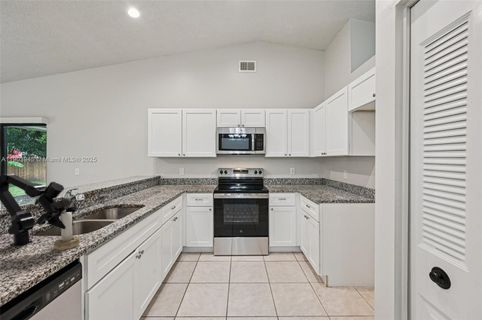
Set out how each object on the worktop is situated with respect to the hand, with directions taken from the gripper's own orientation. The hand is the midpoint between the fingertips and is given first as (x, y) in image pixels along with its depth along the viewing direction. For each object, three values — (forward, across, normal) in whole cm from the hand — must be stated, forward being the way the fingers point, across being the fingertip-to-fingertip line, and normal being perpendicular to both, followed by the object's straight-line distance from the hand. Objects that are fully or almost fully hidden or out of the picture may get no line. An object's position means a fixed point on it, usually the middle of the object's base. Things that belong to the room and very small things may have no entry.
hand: (69, 227), depth 123 cm
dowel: (+4, 0, +6) cm, 7 cm away
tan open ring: (+6, 0, +8) cm, 10 cm away
